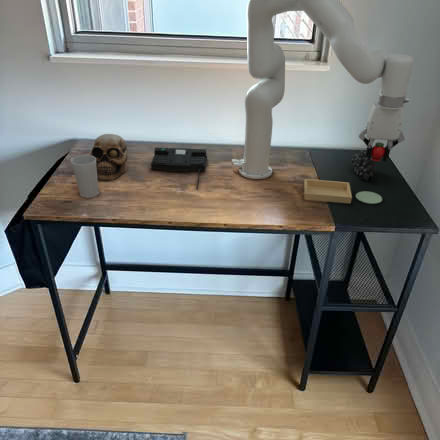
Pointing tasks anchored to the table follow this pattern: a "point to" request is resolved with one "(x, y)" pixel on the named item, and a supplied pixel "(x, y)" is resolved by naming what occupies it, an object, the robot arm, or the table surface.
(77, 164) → the cup
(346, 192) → the tray
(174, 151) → the electronic device
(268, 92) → the robot arm
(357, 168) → the fruit
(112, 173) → the brown skull
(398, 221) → the table surface
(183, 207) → the table surface
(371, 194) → the coaster
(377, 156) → the strawberry
